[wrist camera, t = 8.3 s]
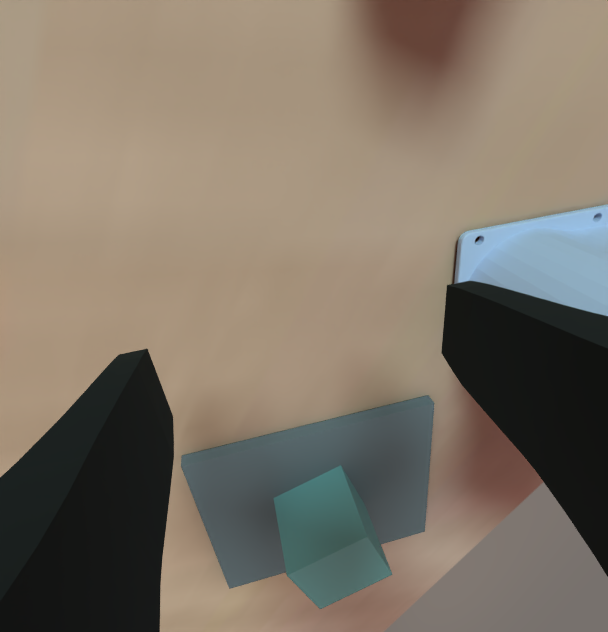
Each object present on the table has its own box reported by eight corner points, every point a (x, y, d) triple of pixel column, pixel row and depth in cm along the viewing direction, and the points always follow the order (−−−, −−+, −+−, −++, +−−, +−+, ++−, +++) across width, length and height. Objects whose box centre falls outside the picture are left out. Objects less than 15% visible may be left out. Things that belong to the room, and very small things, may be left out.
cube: (340, 465, 26) (367, 536, 22) (364, 503, 29) (392, 574, 25) (273, 498, 27) (286, 575, 22) (303, 533, 29) (320, 609, 25)
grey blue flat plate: (428, 395, 26) (434, 403, 26) (420, 522, 33) (424, 531, 33) (181, 455, 24) (181, 466, 23) (228, 577, 31) (229, 588, 31)
